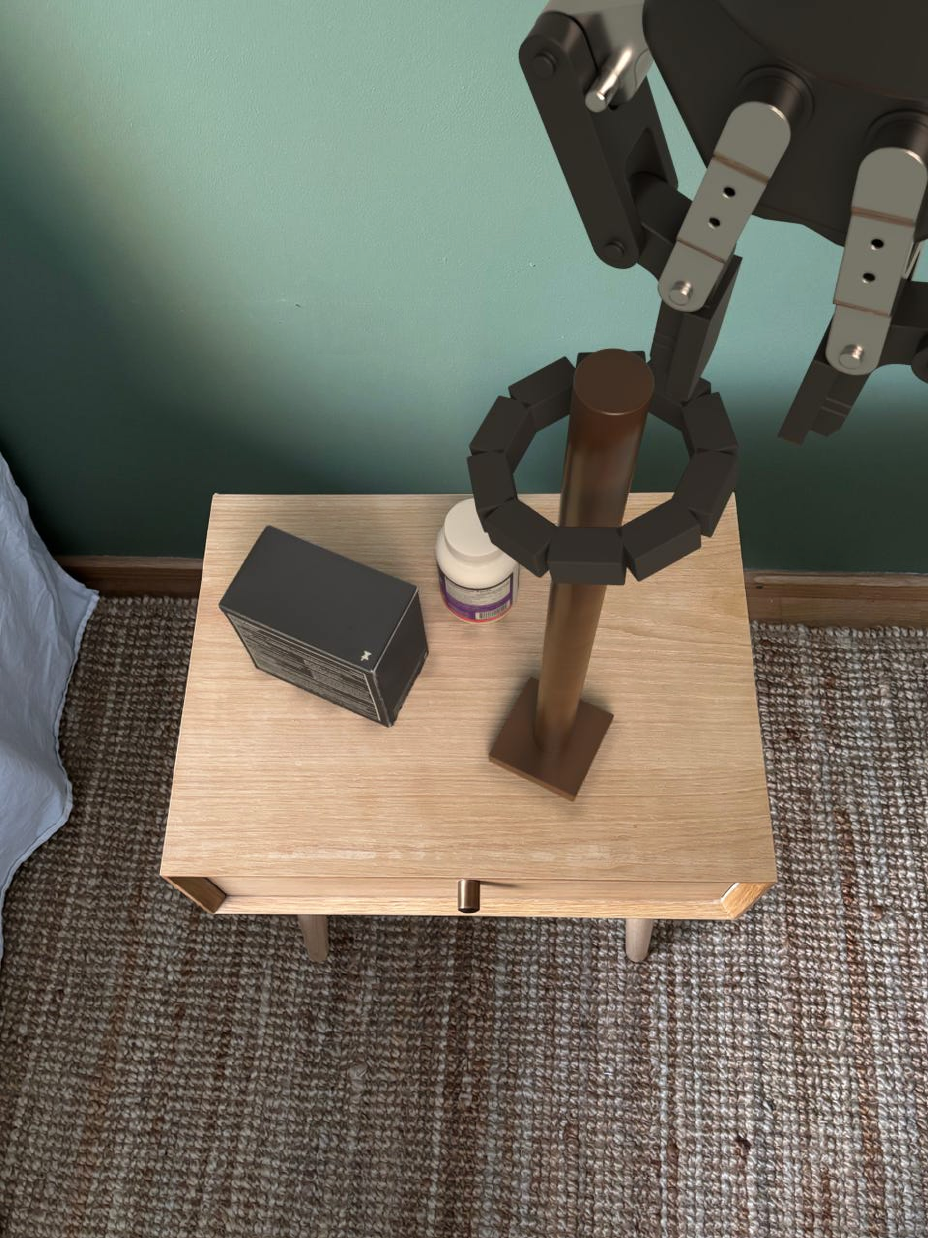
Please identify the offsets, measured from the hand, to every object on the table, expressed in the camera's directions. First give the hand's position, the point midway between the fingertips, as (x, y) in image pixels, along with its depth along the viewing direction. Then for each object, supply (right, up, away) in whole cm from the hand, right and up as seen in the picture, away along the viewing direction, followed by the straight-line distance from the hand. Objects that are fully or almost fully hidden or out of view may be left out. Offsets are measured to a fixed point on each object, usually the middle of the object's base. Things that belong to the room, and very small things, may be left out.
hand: (743, 393), depth 29 cm
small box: (-16, -9, +42) cm, 45 cm away
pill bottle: (-7, -4, +43) cm, 44 cm away
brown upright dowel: (-2, -14, +39) cm, 41 cm away
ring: (-3, -1, +7) cm, 8 cm away
